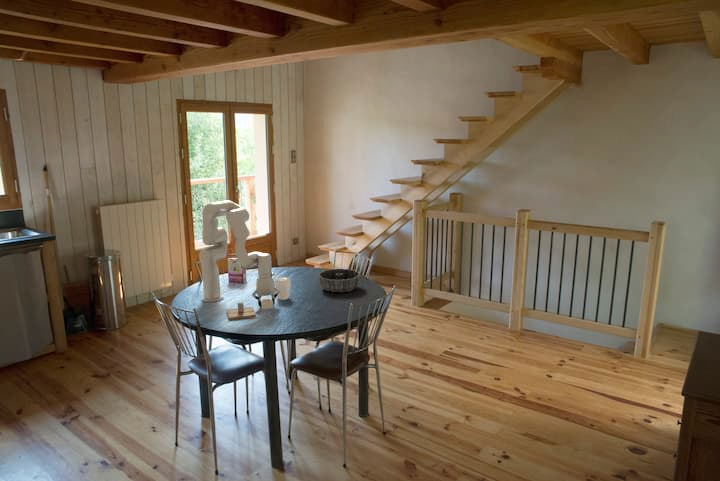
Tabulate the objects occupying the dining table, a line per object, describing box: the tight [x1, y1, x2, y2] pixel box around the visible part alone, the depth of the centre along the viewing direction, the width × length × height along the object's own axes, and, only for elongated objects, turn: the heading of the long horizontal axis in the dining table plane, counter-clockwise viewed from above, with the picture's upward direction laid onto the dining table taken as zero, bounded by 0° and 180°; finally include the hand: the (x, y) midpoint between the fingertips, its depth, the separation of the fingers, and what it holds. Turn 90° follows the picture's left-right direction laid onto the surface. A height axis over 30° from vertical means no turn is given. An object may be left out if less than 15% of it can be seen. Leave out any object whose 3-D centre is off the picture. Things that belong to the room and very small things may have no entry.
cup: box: [274, 276, 291, 301], centre depth 297 cm, size 9×9×12 cm
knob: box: [260, 297, 274, 310], centre depth 283 cm, size 8×6×4 cm
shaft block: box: [226, 301, 257, 321], centre depth 269 cm, size 14×14×6 cm
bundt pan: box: [317, 268, 361, 293], centre depth 315 cm, size 26×26×10 cm
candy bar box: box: [227, 257, 247, 284], centre depth 332 cm, size 11×5×16 cm, turn 73°
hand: (266, 305), depth 282 cm, fingers closed on knob, 6 cm apart
